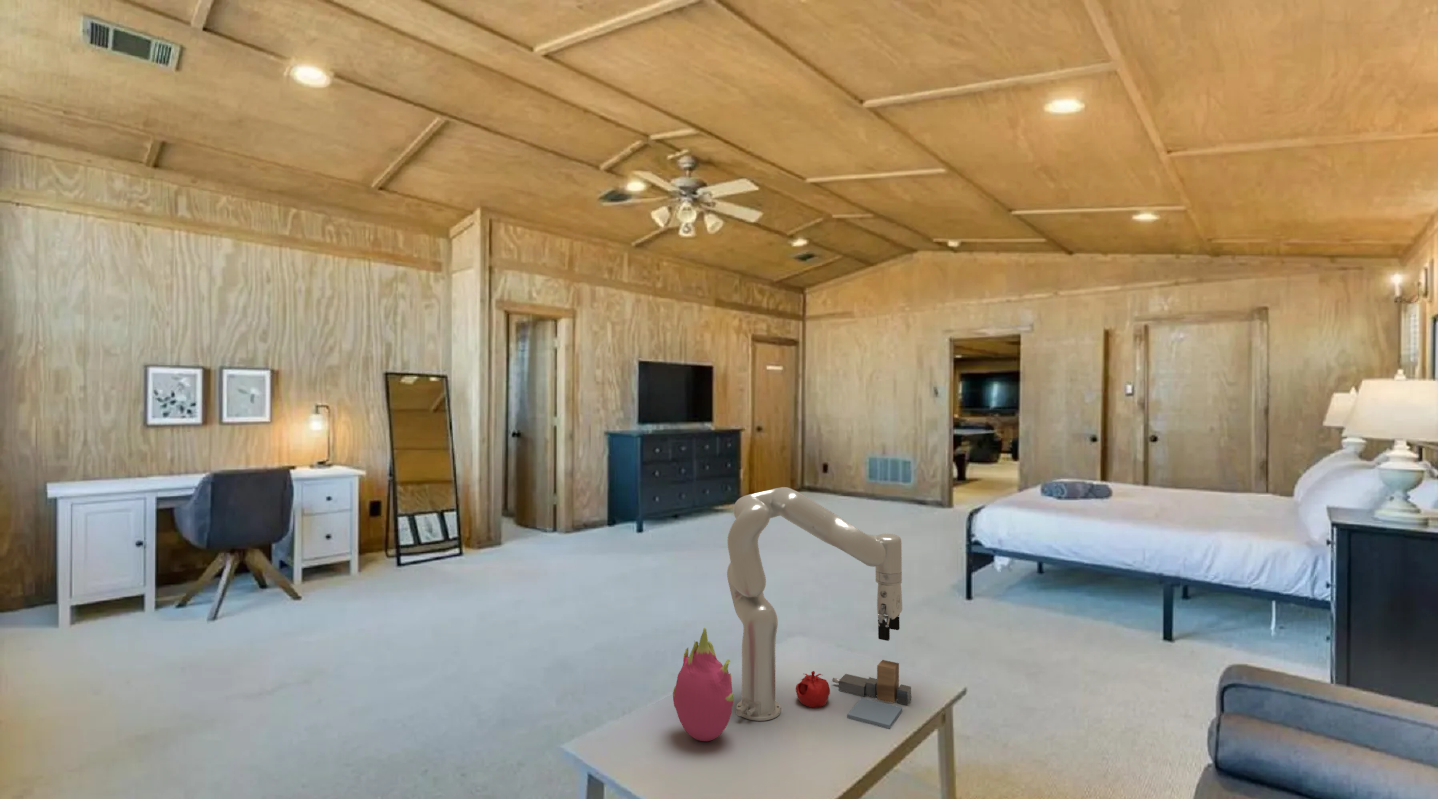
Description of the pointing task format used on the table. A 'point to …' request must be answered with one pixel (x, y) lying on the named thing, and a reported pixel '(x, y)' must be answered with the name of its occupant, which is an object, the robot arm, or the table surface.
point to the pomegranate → (813, 690)
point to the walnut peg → (887, 681)
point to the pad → (875, 713)
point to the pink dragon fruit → (703, 692)
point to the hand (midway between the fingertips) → (889, 634)
